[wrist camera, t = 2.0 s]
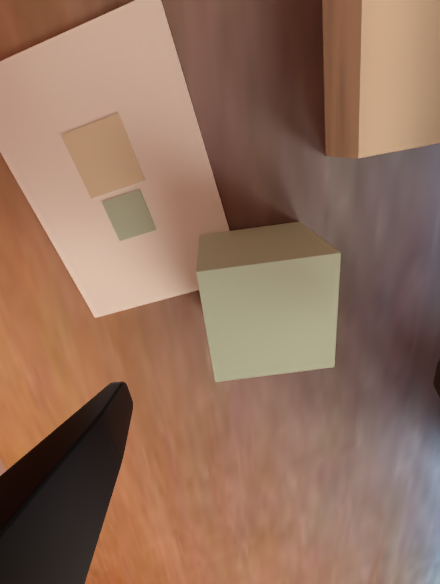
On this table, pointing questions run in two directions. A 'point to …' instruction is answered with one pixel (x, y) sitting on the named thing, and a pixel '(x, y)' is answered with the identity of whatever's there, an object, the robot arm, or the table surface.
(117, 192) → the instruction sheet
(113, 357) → the table surface
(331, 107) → the birch base block
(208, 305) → the sage cube
